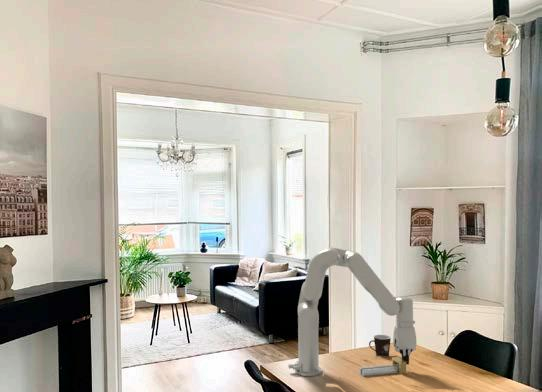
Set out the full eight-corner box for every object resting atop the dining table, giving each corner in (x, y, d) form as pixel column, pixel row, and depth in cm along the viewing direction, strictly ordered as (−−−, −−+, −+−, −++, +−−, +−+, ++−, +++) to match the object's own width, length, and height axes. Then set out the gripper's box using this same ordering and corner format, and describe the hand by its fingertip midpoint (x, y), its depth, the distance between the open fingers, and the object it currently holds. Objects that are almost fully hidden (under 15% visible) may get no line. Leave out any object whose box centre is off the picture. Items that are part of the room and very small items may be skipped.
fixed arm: (363, 376, 189) (363, 370, 189) (362, 375, 191) (362, 369, 191) (402, 372, 194) (402, 366, 194) (401, 371, 196) (401, 365, 196)
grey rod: (361, 374, 191) (361, 367, 192) (359, 372, 193) (359, 366, 194) (402, 370, 196) (402, 364, 197) (400, 369, 198) (400, 362, 198)
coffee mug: (389, 354, 224) (389, 335, 225) (392, 359, 216) (392, 339, 217) (367, 353, 226) (367, 334, 226) (369, 358, 217) (369, 338, 218)
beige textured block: (400, 374, 192) (400, 362, 192) (392, 368, 199) (391, 357, 199) (406, 373, 193) (406, 361, 193) (397, 368, 200) (397, 356, 200)
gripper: (414, 321, 203) (414, 359, 202) (386, 323, 200) (387, 362, 199) (423, 324, 196) (424, 364, 195) (395, 326, 192) (395, 367, 191)
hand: (405, 363), depth 197 cm, fingers closed
